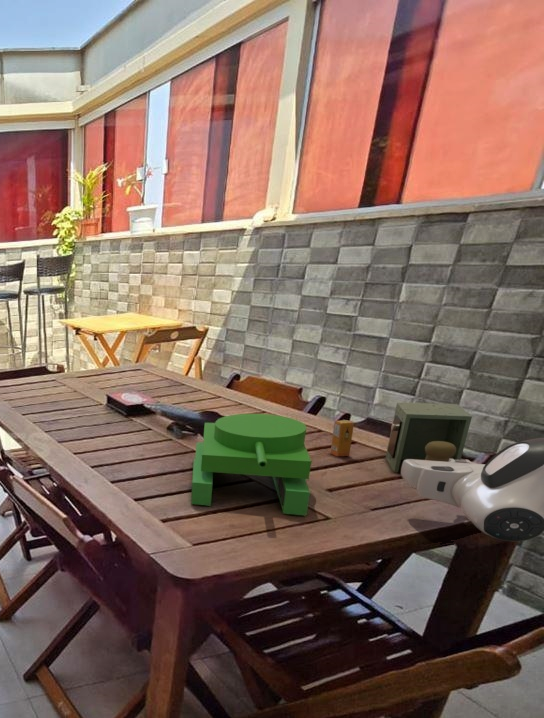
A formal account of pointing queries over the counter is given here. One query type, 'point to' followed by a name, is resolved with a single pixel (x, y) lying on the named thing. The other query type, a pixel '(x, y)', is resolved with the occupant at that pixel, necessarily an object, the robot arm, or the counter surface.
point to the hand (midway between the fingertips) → (457, 462)
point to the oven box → (425, 430)
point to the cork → (439, 451)
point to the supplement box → (342, 438)
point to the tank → (255, 456)
